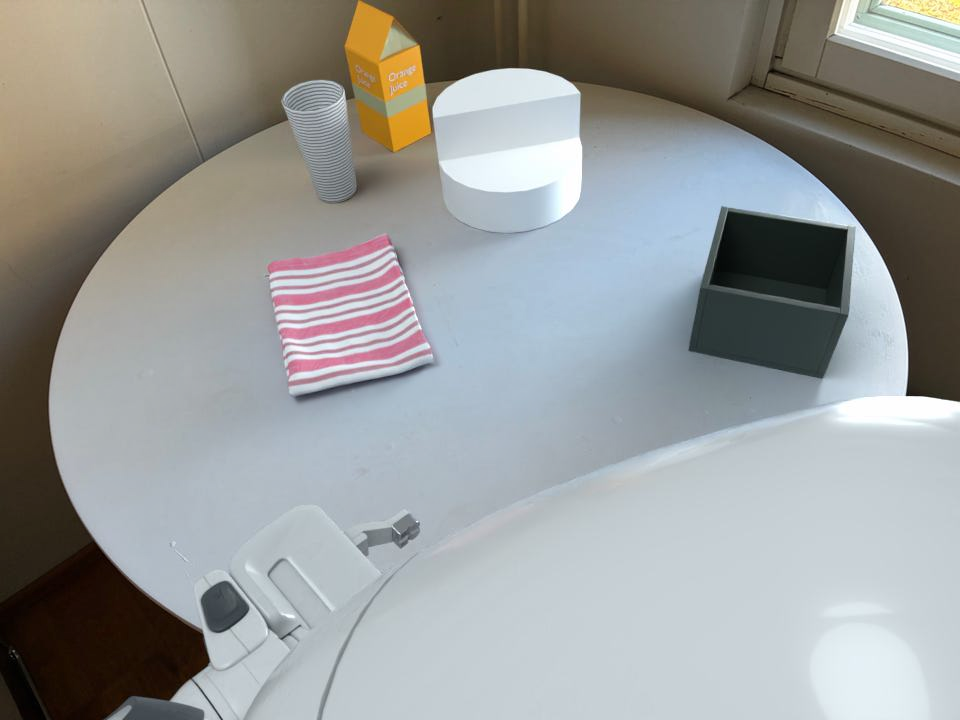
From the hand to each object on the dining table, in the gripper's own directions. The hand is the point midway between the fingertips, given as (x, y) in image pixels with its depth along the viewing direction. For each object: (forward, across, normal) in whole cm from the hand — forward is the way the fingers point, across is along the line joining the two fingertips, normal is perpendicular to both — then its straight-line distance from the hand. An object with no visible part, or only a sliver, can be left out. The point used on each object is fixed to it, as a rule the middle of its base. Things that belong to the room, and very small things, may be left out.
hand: (459, 565), depth 51 cm
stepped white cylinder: (+53, +46, +14) cm, 72 cm away
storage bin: (+54, +5, +13) cm, 56 cm away
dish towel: (+21, +42, +19) cm, 51 cm away
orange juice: (+52, +71, +16) cm, 89 cm away
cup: (+36, +65, +17) cm, 77 cm away
